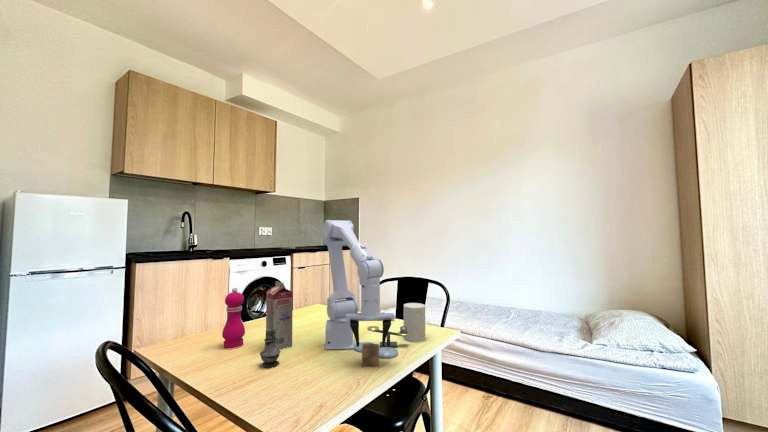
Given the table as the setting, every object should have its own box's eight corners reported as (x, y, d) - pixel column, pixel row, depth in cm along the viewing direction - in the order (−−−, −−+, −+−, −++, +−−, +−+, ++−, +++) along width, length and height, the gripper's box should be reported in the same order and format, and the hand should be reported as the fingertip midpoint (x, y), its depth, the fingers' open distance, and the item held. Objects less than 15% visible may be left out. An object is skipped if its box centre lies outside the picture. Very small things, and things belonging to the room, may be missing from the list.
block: (361, 367, 91) (361, 349, 92) (362, 360, 96) (362, 343, 97) (378, 367, 91) (378, 349, 92) (378, 360, 96) (378, 343, 97)
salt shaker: (260, 370, 89) (261, 327, 90) (258, 362, 94) (259, 322, 95) (281, 366, 92) (282, 325, 92) (278, 359, 97) (279, 320, 98)
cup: (418, 343, 111) (418, 309, 111) (399, 338, 115) (399, 305, 116) (429, 337, 117) (429, 304, 118) (410, 333, 122) (410, 301, 123)
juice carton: (273, 351, 103) (274, 284, 104) (265, 345, 108) (266, 282, 109) (292, 346, 108) (292, 282, 109) (284, 341, 113) (284, 280, 114)
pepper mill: (216, 347, 107) (218, 288, 108) (234, 340, 113) (235, 285, 114) (232, 350, 104) (234, 290, 105) (249, 343, 111) (250, 286, 112)
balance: (367, 348, 106) (367, 329, 106) (367, 344, 110) (367, 325, 110) (410, 347, 106) (409, 328, 107) (408, 343, 110) (408, 325, 111)
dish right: (374, 358, 97) (374, 356, 97) (374, 349, 105) (374, 347, 105) (398, 358, 97) (398, 355, 97) (397, 349, 105) (397, 346, 105)
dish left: (353, 352, 102) (353, 350, 102) (354, 344, 110) (354, 342, 110) (376, 352, 102) (376, 350, 102) (376, 344, 110) (376, 341, 110)
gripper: (345, 302, 91) (345, 350, 90) (395, 302, 91) (395, 349, 90) (347, 297, 98) (347, 342, 97) (393, 297, 98) (394, 341, 97)
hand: (370, 345), depth 94 cm, fingers open, 7 cm apart
